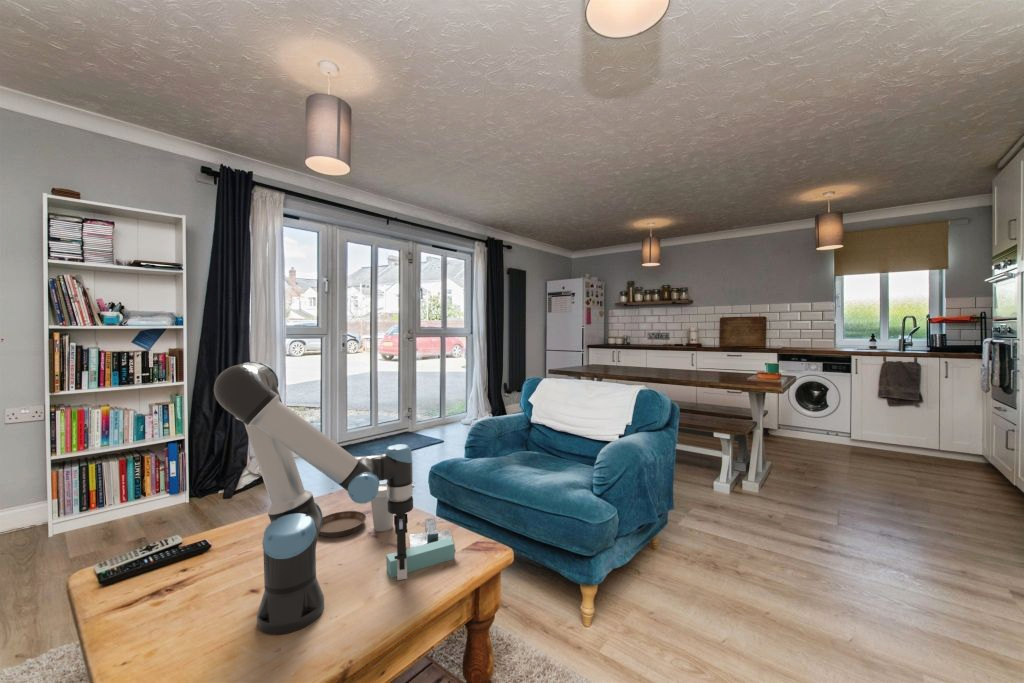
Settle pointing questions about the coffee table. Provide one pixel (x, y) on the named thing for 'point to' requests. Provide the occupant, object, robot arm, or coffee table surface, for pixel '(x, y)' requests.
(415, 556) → the bar
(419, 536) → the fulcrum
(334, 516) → the plant saucer
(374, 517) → the coffee cup
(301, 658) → the coffee table surface
